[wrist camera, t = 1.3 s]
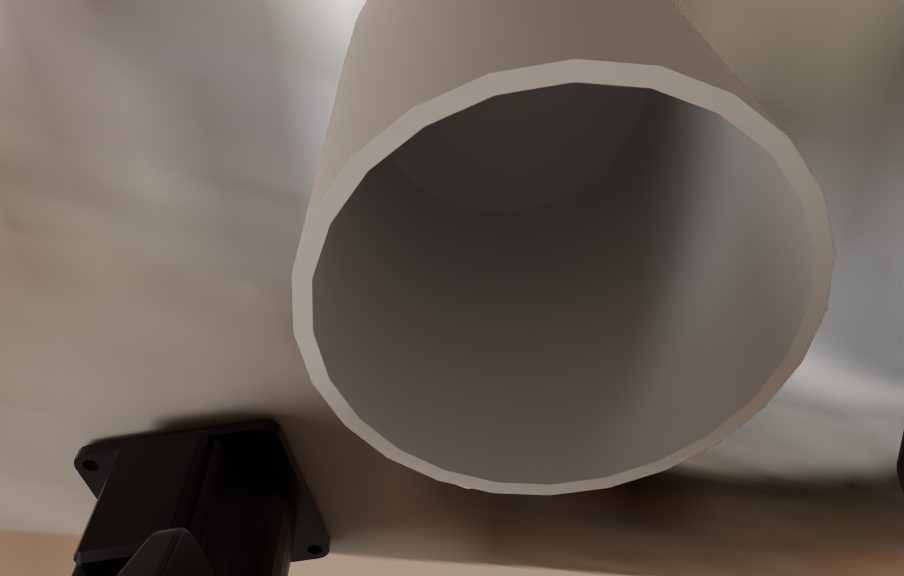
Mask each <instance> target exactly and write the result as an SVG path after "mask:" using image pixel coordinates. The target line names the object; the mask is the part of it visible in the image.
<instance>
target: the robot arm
mask: <svg viewBox="0 0 904 576" xmlns="http://www.w3.org/2000/svg"><path fill="white" fill-rule="evenodd" d="M260 434H266V435H268V436H263V435H260ZM74 466H75V468H76V470H77V471H78V472H79V474H80V475H81V477H82V478H83V480H84V481H85V482H86V484H87V485H88V487H89V488H90V490H91V491H92V493H93V494H94V495H95V497H96V498H97V502H96V504H95V507H94V509H93V511H92V514H91V516H90V518H89V521H88V523H87V526H86V528H85V530H84V533H83V535H82V537H81V540H80V542H79V544H78V547H77V549H76V551H75V554H74V561H75V562H76V566H75V568H74V571H73V573H72V576H288V572H289V566H290V562H295V561H303V560H310V559H317V558H322V557H325V556H326V555H327V554H328V553H329V550H330V542H331V541H330V536H329V534H328V532H327V530H326V527H325V525H324V523H323V521H322V518H321V516H320V514H319V512H318V509H317V507H316V505H315V503H314V500H313V498H312V496H311V494H310V491H309V489H308V487H307V485H306V482H305V480H304V478H303V476H302V473H301V471H300V469H299V467H298V464H297V462H296V460H295V458H294V455H293V453H292V451H291V449H290V446H289V444H288V442H287V440H286V437H285V435H284V433H283V431H282V428H281V427H280V426H279V424H278V423H276V422H275V421H273V420H269V419H256V420H249V421H243V422H236V423H229V424H223V425H216V426H210V427H203V428H197V429H190V430H183V431H177V432H170V433H164V434H157V435H151V436H144V437H137V438H131V439H124V440H118V441H111V442H105V443H98V444H91V445H87V446H84V447H82V448H81V449H80V450H79V452H78V454H77V456H76V458H75V461H74ZM897 474H898V478H899V482H900V485H901V487H902V489H903V492H904V432H903V437H902V441H901V446H900V451H899V456H898V460H897Z"/></svg>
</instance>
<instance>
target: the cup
mask: <svg viewBox="0 0 904 576" xmlns="http://www.w3.org/2000/svg"><path fill="white" fill-rule="evenodd" d="M834 257H835V247H834V242H833V237H832V232H831V227H830V222H829V217H828V213H827V208H826V203H825V198H824V193H823V191H822V190H821V188H820V186H819V185H818V183H817V181H816V180H815V178H814V177H813V175H812V173H811V172H810V170H809V168H808V167H807V165H806V164H805V162H804V160H803V159H802V157H801V155H800V154H799V152H798V151H797V149H796V147H795V146H794V144H793V143H792V141H791V139H790V138H789V137H788V136H787V134H786V133H785V132H784V131H783V130H782V129H781V127H780V126H779V125H778V124H777V123H776V122H775V121H774V119H773V118H772V117H771V116H770V115H769V114H768V113H767V111H766V110H765V109H764V108H763V107H762V106H761V105H760V103H759V102H758V101H757V100H756V99H755V98H754V96H753V95H752V94H751V93H750V92H749V91H748V90H747V88H746V87H745V86H744V85H743V84H742V83H741V82H740V80H739V79H738V78H737V77H736V76H735V75H734V74H733V72H732V71H731V70H730V69H729V68H728V67H727V66H726V64H725V63H724V62H723V61H722V60H721V59H720V57H719V56H718V55H717V54H716V53H715V52H714V51H713V49H712V48H711V47H710V46H709V45H708V44H707V43H706V41H705V40H704V39H703V38H702V37H701V36H700V35H699V33H698V32H697V31H696V30H695V29H694V28H693V26H692V25H691V24H690V23H689V22H688V21H687V20H686V18H685V17H684V16H683V15H682V14H681V13H680V12H679V10H678V9H677V8H676V7H675V6H674V5H673V4H672V2H671V1H670V0H367V2H366V3H365V5H364V6H363V8H362V10H361V12H360V14H359V16H358V18H357V20H356V24H355V27H354V30H353V34H352V37H351V40H350V44H349V47H348V50H347V54H346V57H345V60H344V64H343V68H342V72H341V76H340V81H339V85H338V89H337V93H336V97H335V101H334V105H333V109H332V113H331V117H330V121H329V125H328V129H327V133H326V138H325V142H324V146H323V150H322V154H321V158H320V162H319V166H318V170H317V174H316V178H315V182H314V186H313V190H312V195H311V199H310V203H309V207H308V211H307V215H306V219H305V223H304V227H303V231H302V235H301V239H300V243H299V247H298V251H297V256H296V260H295V264H294V268H293V272H292V303H293V333H294V335H295V338H296V341H297V343H298V346H299V349H300V352H301V354H302V357H303V360H304V362H305V365H306V368H307V371H308V373H309V376H310V379H311V381H312V384H313V385H314V386H315V387H316V389H317V390H318V391H319V393H320V394H321V395H322V396H323V398H324V399H325V400H326V402H327V403H328V404H329V406H330V407H331V408H332V409H333V411H334V412H335V413H336V415H337V416H338V417H339V418H340V420H341V421H342V422H343V424H344V425H345V426H346V427H348V428H349V429H350V430H352V431H353V432H354V433H356V434H357V435H358V436H359V437H361V438H362V439H363V440H365V441H366V442H367V443H369V444H370V445H371V446H373V447H374V448H375V449H376V450H378V451H379V452H380V453H382V454H383V455H384V456H386V457H387V458H389V459H391V460H393V461H395V462H398V463H400V464H402V465H404V466H407V467H409V468H411V469H413V470H416V471H418V472H420V473H422V474H425V475H427V476H429V477H431V478H433V479H436V480H438V481H442V482H447V483H451V484H456V485H458V486H461V487H464V488H466V489H471V488H473V489H477V490H482V491H486V492H490V493H505V494H530V495H557V494H564V493H572V492H580V491H588V490H596V489H603V488H610V487H613V486H616V485H619V484H623V483H626V482H629V481H632V480H635V479H639V478H642V477H645V476H648V475H652V474H655V473H658V472H661V471H665V470H667V469H669V468H671V467H673V466H675V465H677V464H678V463H680V462H682V461H684V460H686V459H688V458H690V457H692V456H694V455H696V454H698V453H700V452H702V451H704V450H706V449H708V448H710V447H712V446H714V445H716V444H718V443H719V442H720V441H722V440H723V439H724V438H725V437H727V436H728V435H729V434H731V433H732V432H733V431H734V430H736V429H737V428H738V427H740V426H741V425H742V424H743V423H745V422H746V421H747V420H748V419H750V418H751V417H752V416H754V415H755V414H756V413H757V412H759V411H760V410H761V409H762V408H764V407H765V406H766V405H767V403H768V402H769V401H770V400H771V399H772V397H773V396H774V395H775V394H776V393H777V391H778V390H779V389H780V388H781V387H782V385H783V384H784V383H785V382H786V381H787V379H788V378H789V377H790V376H791V375H792V373H793V372H794V371H795V370H796V369H797V367H798V366H799V365H800V364H801V363H802V361H803V359H804V357H805V355H806V353H807V351H808V348H809V346H810V344H811V342H812V340H813V338H814V336H815V333H816V331H817V329H818V327H819V325H820V323H821V321H822V318H823V316H824V314H825V312H826V310H827V305H828V298H829V292H830V285H831V278H832V271H833V264H834Z"/></svg>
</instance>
